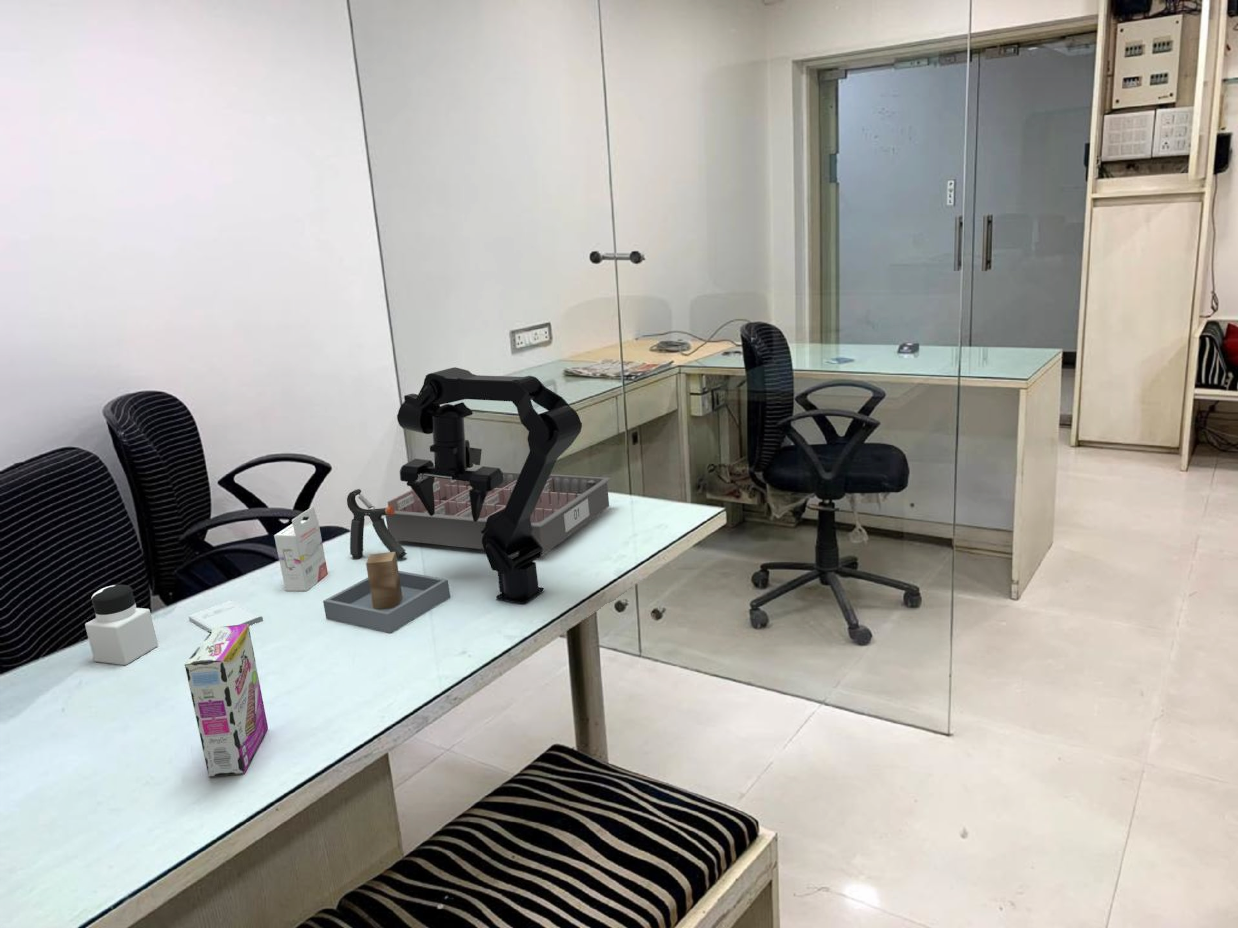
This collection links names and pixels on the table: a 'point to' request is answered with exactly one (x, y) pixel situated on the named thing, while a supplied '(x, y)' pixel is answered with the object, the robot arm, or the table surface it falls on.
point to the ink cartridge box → (301, 552)
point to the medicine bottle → (119, 627)
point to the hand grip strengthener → (377, 523)
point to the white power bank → (225, 616)
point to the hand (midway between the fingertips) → (454, 517)
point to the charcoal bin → (359, 609)
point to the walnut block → (384, 580)
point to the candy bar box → (227, 699)
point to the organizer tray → (453, 524)
